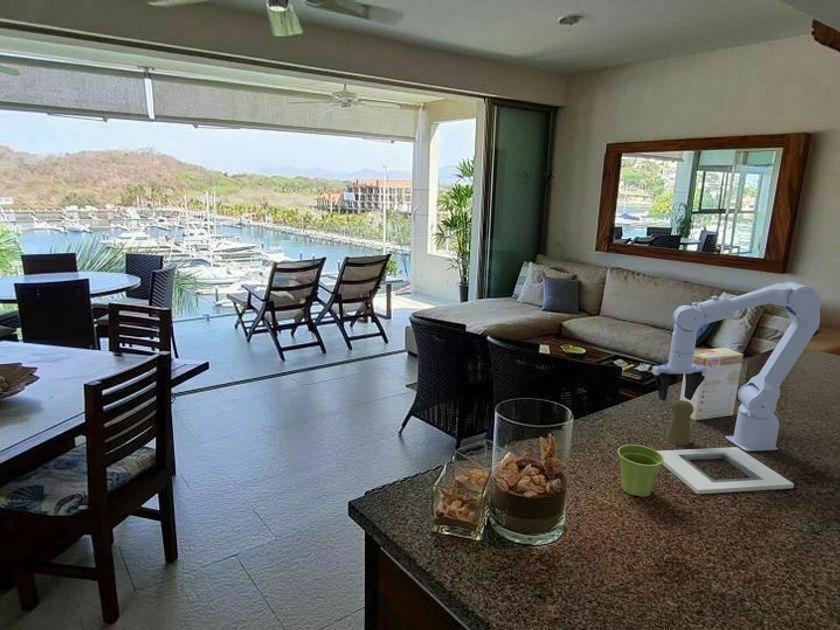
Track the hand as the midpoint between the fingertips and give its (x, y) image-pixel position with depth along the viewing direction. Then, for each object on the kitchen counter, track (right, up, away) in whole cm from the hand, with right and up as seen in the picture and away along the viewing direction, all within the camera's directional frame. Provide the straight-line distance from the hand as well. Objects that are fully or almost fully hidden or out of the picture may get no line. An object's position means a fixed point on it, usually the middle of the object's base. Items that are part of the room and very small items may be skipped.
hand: (675, 399), depth 145 cm
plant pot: (-21, -16, -26) cm, 37 cm away
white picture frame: (+3, -15, -16) cm, 22 cm away
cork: (0, -11, -1) cm, 11 cm away
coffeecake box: (+17, -7, +18) cm, 26 cm away
